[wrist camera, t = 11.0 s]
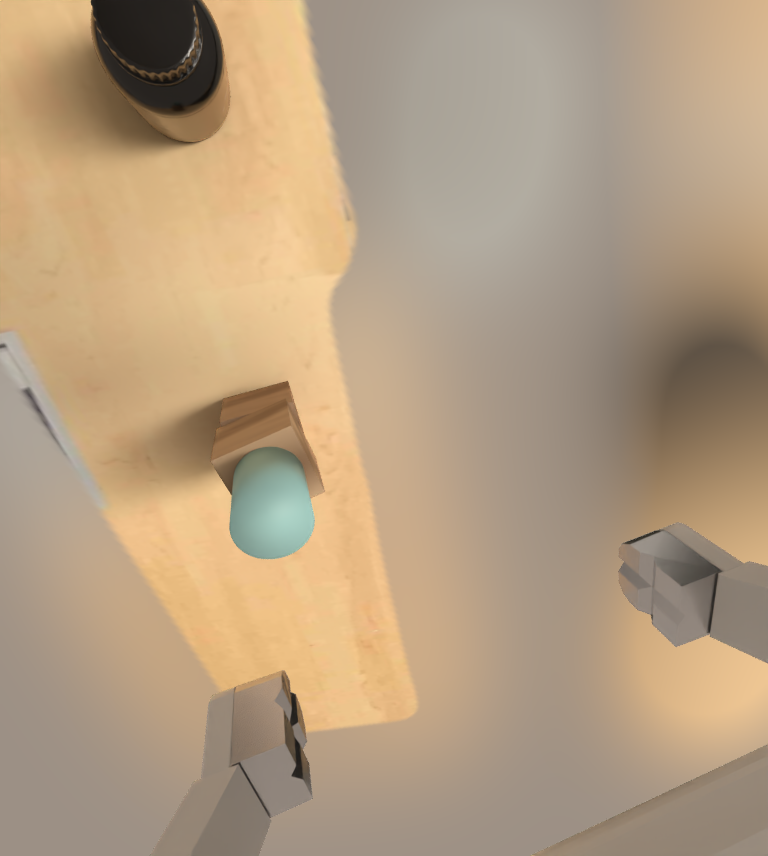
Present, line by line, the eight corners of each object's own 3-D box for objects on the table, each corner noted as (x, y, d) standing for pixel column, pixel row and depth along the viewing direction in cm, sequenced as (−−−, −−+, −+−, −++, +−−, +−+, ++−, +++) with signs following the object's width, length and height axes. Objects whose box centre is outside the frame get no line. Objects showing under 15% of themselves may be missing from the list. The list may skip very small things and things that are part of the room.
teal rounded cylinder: (223, 458, 32) (217, 503, 26) (294, 438, 33) (302, 478, 27) (246, 516, 34) (245, 569, 29) (312, 496, 35) (323, 543, 29)
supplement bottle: (251, 106, 35) (249, 49, 24) (179, 163, 35) (146, 132, 24) (182, 4, 32) (145, -114, 21) (104, 67, 32) (28, -18, 21)
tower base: (223, 398, 42) (219, 422, 37) (287, 380, 43) (292, 401, 38) (245, 454, 45) (243, 484, 39) (305, 437, 46) (311, 464, 40)
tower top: (216, 428, 37) (210, 461, 32) (285, 398, 38) (291, 425, 32) (251, 486, 40) (250, 525, 34) (315, 457, 40) (324, 491, 35)
